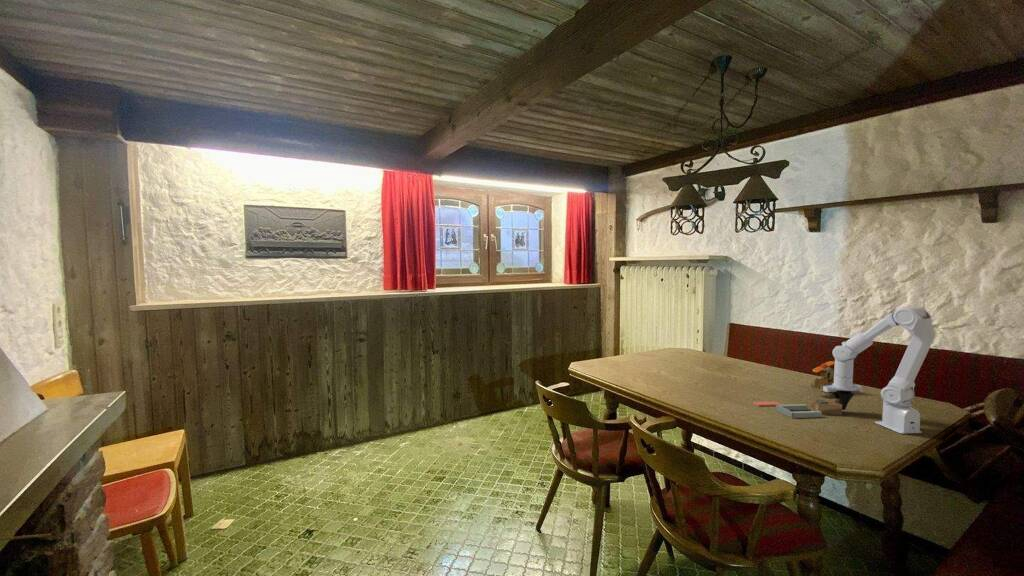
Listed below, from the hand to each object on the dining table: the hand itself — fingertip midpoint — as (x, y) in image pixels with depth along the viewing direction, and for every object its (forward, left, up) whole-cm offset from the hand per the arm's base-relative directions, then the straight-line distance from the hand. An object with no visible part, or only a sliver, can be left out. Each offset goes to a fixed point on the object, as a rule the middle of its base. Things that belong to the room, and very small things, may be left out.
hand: (841, 408), depth 158 cm
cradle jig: (0, +17, -1) cm, 17 cm away
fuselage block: (0, +6, -1) cm, 7 cm away
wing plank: (+10, +23, -2) cm, 25 cm away
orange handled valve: (+23, -13, -2) cm, 26 cm away
